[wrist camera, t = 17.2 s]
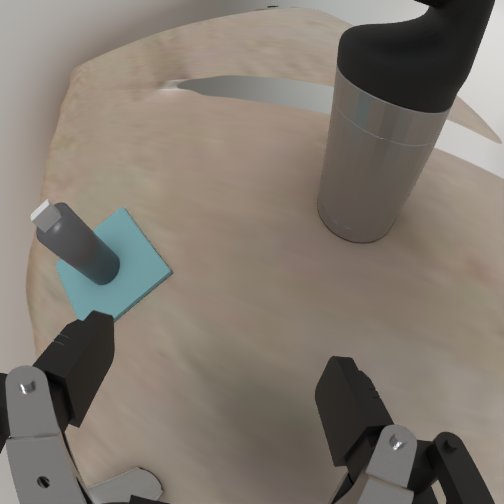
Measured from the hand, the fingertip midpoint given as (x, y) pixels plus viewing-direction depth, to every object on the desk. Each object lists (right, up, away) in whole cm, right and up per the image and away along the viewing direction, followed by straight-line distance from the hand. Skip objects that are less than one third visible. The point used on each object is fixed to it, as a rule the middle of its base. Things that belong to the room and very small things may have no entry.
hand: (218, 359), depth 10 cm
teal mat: (-16, +2, +21) cm, 26 cm away
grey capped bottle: (-16, +2, +20) cm, 26 cm away
